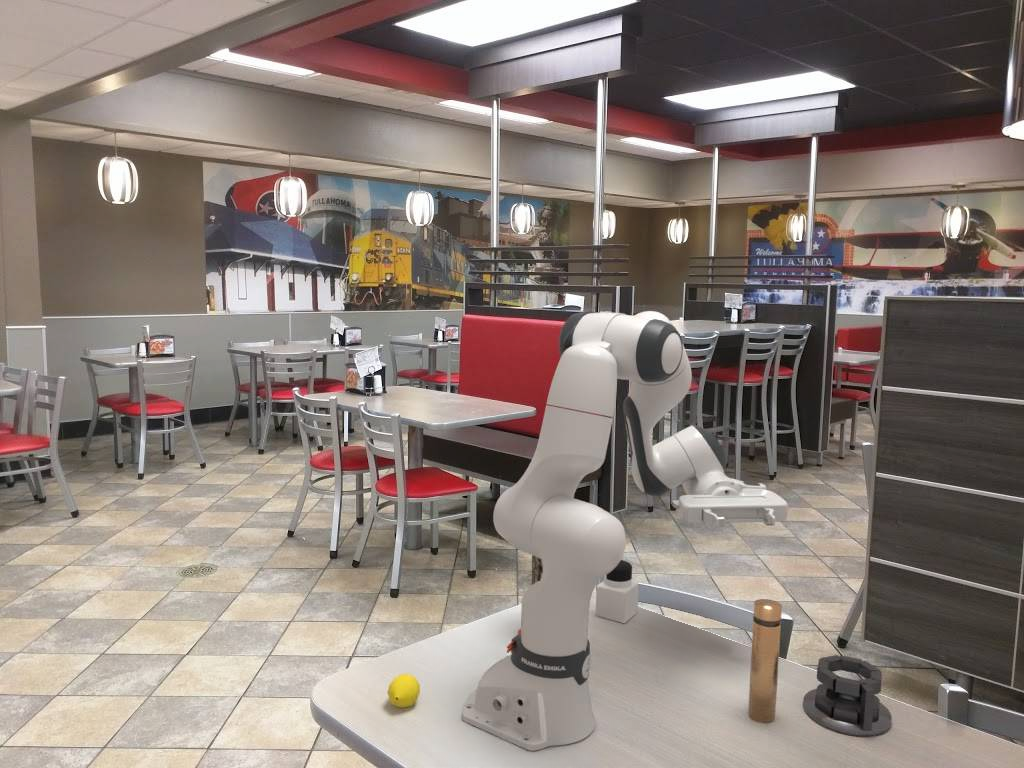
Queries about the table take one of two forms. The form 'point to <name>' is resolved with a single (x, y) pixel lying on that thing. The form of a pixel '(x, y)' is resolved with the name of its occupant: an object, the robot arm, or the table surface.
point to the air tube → (764, 660)
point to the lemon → (404, 690)
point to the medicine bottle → (617, 594)
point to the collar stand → (848, 698)
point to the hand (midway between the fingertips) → (745, 522)
